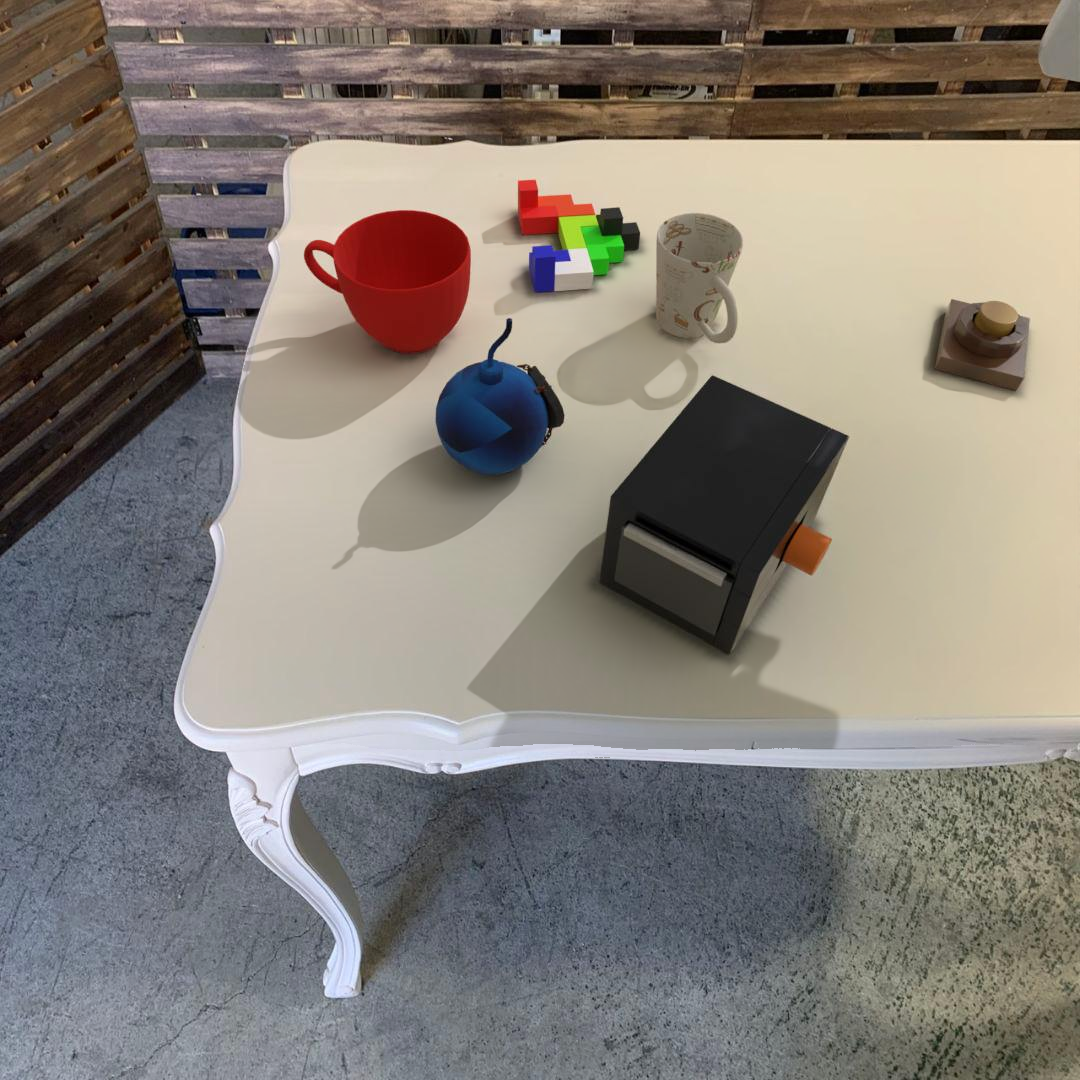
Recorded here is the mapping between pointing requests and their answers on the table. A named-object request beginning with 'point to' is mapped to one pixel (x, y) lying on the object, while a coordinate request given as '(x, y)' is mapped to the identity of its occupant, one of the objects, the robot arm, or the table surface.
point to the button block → (981, 348)
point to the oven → (717, 510)
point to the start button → (996, 318)
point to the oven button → (806, 549)
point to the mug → (696, 275)
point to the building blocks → (572, 239)
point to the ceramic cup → (400, 276)
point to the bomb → (496, 414)
